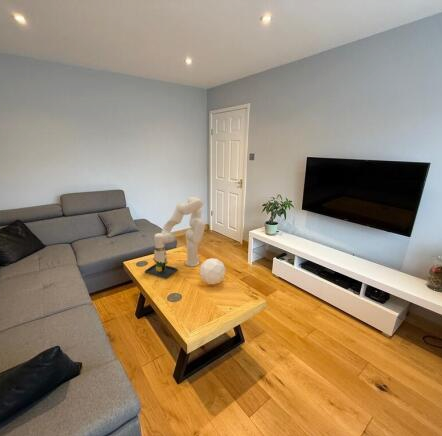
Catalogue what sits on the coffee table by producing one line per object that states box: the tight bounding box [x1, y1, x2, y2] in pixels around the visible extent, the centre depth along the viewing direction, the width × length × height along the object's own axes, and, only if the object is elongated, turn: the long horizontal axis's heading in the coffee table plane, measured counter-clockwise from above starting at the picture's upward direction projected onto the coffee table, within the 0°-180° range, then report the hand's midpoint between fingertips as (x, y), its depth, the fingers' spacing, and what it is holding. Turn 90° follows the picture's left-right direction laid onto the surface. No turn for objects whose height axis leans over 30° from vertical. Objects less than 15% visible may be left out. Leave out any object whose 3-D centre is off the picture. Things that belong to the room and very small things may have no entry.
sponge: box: [156, 262, 167, 272], centre depth 193 cm, size 7×4×5 cm, turn 153°
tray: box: [144, 263, 178, 280], centre depth 194 cm, size 16×22×2 cm
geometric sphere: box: [199, 257, 227, 286], centre depth 177 cm, size 19×20×20 cm
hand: (160, 268), depth 194 cm, fingers closed on sponge, 4 cm apart
